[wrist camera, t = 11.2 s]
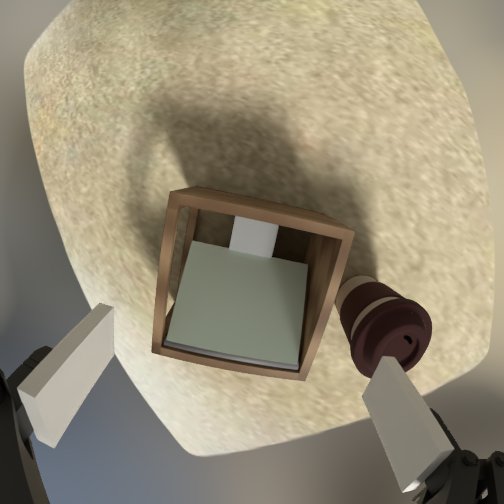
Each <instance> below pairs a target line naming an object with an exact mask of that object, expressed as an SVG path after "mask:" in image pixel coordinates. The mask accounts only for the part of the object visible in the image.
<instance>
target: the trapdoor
mask: <svg viewBox="0 0 504 504" xmlns="http://www.w3.org/2000/svg"><path fill="white" fill-rule="evenodd" d="M307 269H308V264H303V263H298V262H293V261H289V260H284V259H279V258H274V257H272V258H267V257H263V256H258V255H253V254H248V253H243V252H238V251H234V250H229V248H226V247H221V246H216V245H211V244H207V243H202V242H197V241H192V243H191V247H190V250H189V254H188V257H187V261H186V264H185V268H184V272H183V275H182V279H181V283H180V287H179V290H178V294H177V298H176V302H175V306H174V310H173V314H172V318H171V322H170V326H169V331H168V335H167V336H166V337H165V339H164V345H166V346H170V347H174V348H178V349H183V350H187V351H191V352H196V353H200V354H205V355H210V356H215V357H220V358H225V359H230V360H236V361H241V362H247V363H253V364H259V365H265V366H272V367H279V368H286V369H294V370H298V368H299V361H298V356H299V348H300V339H301V331H302V321H303V312H304V302H305V292H306V281H307Z"/></svg>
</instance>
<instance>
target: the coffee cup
mask: <svg viewBox="0 0 504 504" xmlns="http://www.w3.org/2000/svg"><path fill="white" fill-rule="evenodd" d="M336 308H337V311H338V313H339V315H340V321H341V324H342V327H343V329H344V331H345V334H346V336H347V339H348V341H349V344H350V351H351V357H352V359H353V362H354V364H355V366H356V368H357V369H358V370H359V372H360V373H361V374H363V375H364V376H366V377H368V378H372V376H373V374H374V372H375V370H376V368H377V366H378V364H379V362H380V360H381V358H382V356H389V357H395V358H396V360H397V361H398V363H399V364H400V366H401V367H402V369H403V370H404V371H405V372H407V371H408V370H410V369H411V368H413V367H414V366H415V365H416V364H417V363H418V362H419V360H420V359H421V357H422V356H423V354H424V353H425V351H426V349H427V347H428V345H429V342H430V339H431V335H432V322H431V319H430V316H429V314H428V313H427V311H426V310H425V309H424V308H423V307H422V306H420V305H419V304H418V303H417V302H415V301H413V300H410V299H405V298H404V297H403V296H401V295H400V294H398V293H397V292H395V291H394V290H392V289H391V288H390V287H388V286H387V285H385V284H383V283H380V282H378V281H376V280H375V279H374V278H372V277H369V276H365V275H360V276H355V277H353V278H351V279H349V280H347V281H346V282H345V283H344V284H343V285H342V286H341V288H340V289H339V291H338V293H337V297H336Z"/></svg>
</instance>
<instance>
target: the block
mask: <svg viewBox="0 0 504 504" xmlns="http://www.w3.org/2000/svg"><path fill="white" fill-rule="evenodd" d="M278 228H279V225H276V224H271V223H267V222H262V221H257V220H253V219H248V218H243V217H238V216H235V221H234V226H233V231H232V236H231V241H230V246H229V250H234V251H238V252H243V253H248V254H253V255H258V256H263V257H267V258H272V253H273V249H274V245H275V241H276V236H277V232H278Z"/></svg>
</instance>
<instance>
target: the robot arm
mask: <svg viewBox="0 0 504 504" xmlns="http://www.w3.org/2000/svg"><path fill="white" fill-rule="evenodd" d="M113 355H114V307H112V306H108V305H105V304H102V303H99V304H98V305H97V306H96V307H95V308H94V309H93V310H92V311H91V312H90V313H89V314H88V315H87V316H86V317H85V318H84V319H83V320H82V321H81V322H79V324H77V325H76V326H75V328H74V329H72V330H71V331H70V332H69V333H68V334H67V335H66V337H65V338H63V339H62V340H61V342H60V343H59V344H58V345H57V346H56V347H55V348H54V349H52V348H50V347H48V346H44V347H42V348H39V349H37V350H36V351H34V352H33V354H31V355H30V356H29V358H28V359H26V360H25V361H24V362H23V365H22V364H21V365H20V366H19V367H18V368H17V369H16V370H15V371H14V372H13V373H12V374H11V376H10V377H9V378H8V379H7V380H6V379H5V376H4V373H3V371H2V370H1V369H0V504H50V502H49V500H48V497H47V494H46V491H45V488H44V485H43V482H42V479H41V476H40V473H39V469H38V466H37V462H36V459H35V455H34V451H33V447H32V442H31V440H30V437H29V436H30V435H31V433H32V432H33V431H34V433H35V435H36V437H37V439H38V440H39V441H41V442H43V443H45V444H47V445H49V446H51V447H53V448H55V446H56V444H57V443H58V441H59V440H60V438H61V436H62V435H63V433H64V431H65V430H66V428H67V426H68V425H69V423H70V421H71V420H72V418H73V417H74V415H75V413H76V412H77V410H78V409H79V407H80V406H81V404H82V402H83V401H84V399H85V398H86V396H87V395H88V393H89V391H90V390H91V388H92V387H93V385H94V384H95V382H96V381H97V379H98V378H99V376H100V375H101V373H102V372H103V370H104V369H105V367H106V366H107V364H108V363H109V361H110V360H111V358H112V357H113ZM362 398H363V400H364V402H365V405H366V407H367V409H368V412H369V414H370V416H371V418H372V421H373V423H374V425H375V428H376V430H377V432H378V435H379V437H380V439H381V442H382V444H383V447H384V449H385V451H386V454H387V456H388V459H389V461H390V464H391V466H392V469H393V471H394V473H395V476H396V478H397V481H398V484H399V486H400V489H401V491H402V492H406V491H410V490H415V489H417V488H418V487H419V486H420V485H421V484H422V483H423V482H424V481H425V484H426V487H425V488H424V489H423V490H422V491H421V492H419V493H418V494H417V495H416V496H415V497H414V498H413V500H412V501H415V500H416V499H417V498H418V497H420V498H419V500H418V501H417V504H504V453H503V452H500V451H495V452H494V453H492V454H491V456H490V457H489V458H488V459H478V457H477V456H476V455H475V454H474V453H472V452H471V451H469V450H461V449H460V448H459V446H458V444H457V442H456V441H455V439H454V438H453V436H452V435H451V433H450V431H449V430H447V427H446V425H445V424H443V421H442V419H441V418H440V416H439V415H438V414H437V413H436V412H435V411H434V410H433V409H431V408H429V407H428V406H427V404H426V403H425V402H424V400H423V398H422V397H421V395H420V394H419V392H418V391H417V389H416V388H415V386H414V385H413V383H412V382H411V380H410V379H409V377H408V376H407V374H406V373H405V371H404V370H403V369H402V367H401V366H400V364H399V363H398V361H397V360H396V358H395V357H389V356H382V358H381V360H380V362H379V364H378V366H377V368H376V370H375V372H374V374H373V376H372V378H371V380H370V382H369V384H368V386H367V388H366V390H365V392H364V393H363V395H362ZM486 491H488V495H487V496H486V497H485V498H484V499H482V494H483V493H484V492H486Z"/></svg>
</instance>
